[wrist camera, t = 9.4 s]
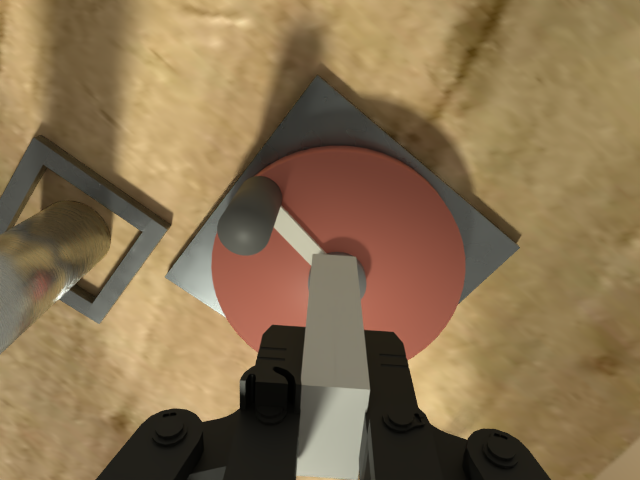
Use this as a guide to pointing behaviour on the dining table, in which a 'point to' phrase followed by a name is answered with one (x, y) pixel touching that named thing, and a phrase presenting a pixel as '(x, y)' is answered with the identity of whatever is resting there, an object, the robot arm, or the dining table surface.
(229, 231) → the red disc with handle
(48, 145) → the grey flat square frame
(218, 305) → the wheel base
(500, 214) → the dining table surface
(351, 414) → the robot arm
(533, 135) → the dining table surface
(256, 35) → the dining table surface
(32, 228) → the metal peg
